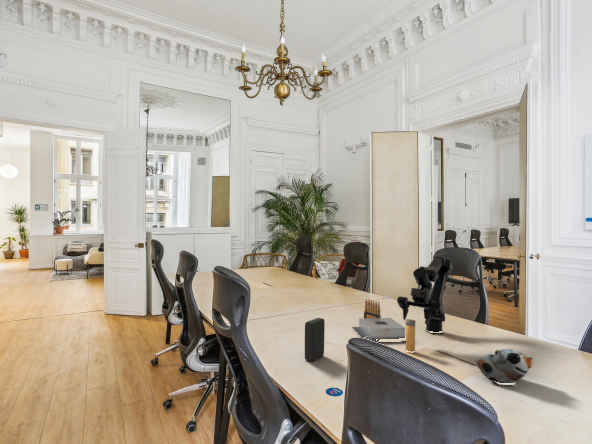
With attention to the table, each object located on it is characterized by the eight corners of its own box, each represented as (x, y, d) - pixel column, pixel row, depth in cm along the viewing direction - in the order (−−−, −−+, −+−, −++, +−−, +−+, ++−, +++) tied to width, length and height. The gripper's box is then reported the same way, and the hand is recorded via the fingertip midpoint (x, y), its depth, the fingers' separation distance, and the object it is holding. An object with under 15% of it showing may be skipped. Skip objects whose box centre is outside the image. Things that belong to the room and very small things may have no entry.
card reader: (317, 353, 138) (317, 316, 138) (325, 355, 136) (325, 318, 136) (303, 360, 131) (303, 321, 131) (311, 363, 129) (312, 323, 129)
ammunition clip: (363, 320, 186) (363, 298, 186) (365, 319, 187) (366, 298, 187) (378, 325, 177) (378, 302, 177) (381, 324, 178) (381, 301, 178)
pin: (412, 349, 143) (412, 319, 143) (416, 353, 139) (417, 321, 139) (403, 350, 142) (404, 319, 142) (408, 353, 139) (408, 322, 139)
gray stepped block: (393, 326, 174) (393, 316, 174) (413, 341, 153) (413, 329, 153) (351, 328, 172) (352, 317, 172) (366, 343, 150) (366, 331, 150)
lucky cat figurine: (501, 368, 125) (523, 340, 120) (523, 397, 114) (548, 367, 109) (467, 359, 122) (488, 330, 117) (486, 387, 111) (510, 356, 106)
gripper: (398, 278, 155) (388, 307, 146) (441, 283, 143) (433, 314, 134) (404, 293, 161) (395, 321, 152) (446, 299, 149) (438, 330, 140)
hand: (414, 321), depth 144 cm, fingers open, 9 cm apart
